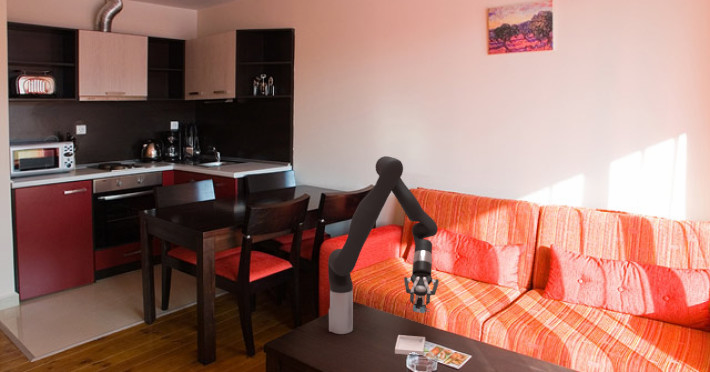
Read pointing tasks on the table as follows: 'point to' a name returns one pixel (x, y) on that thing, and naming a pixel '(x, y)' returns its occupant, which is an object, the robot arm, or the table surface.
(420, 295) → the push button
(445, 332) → the table surface
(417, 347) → the white button tray
